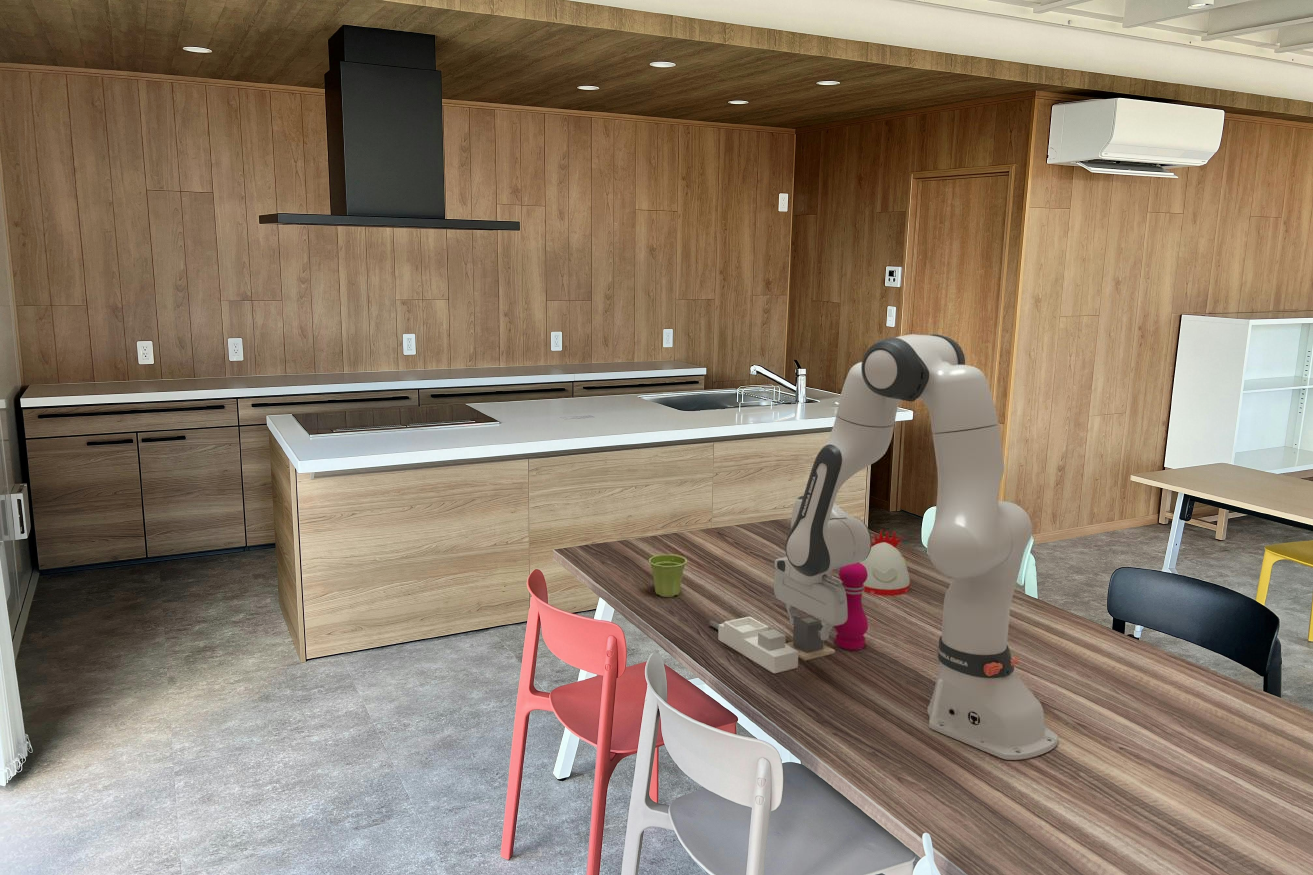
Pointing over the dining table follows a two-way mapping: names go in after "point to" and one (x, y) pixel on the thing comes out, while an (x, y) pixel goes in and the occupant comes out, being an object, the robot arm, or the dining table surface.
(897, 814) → the dining table surface
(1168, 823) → the dining table surface
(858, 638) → the pepper mill
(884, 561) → the kitchen timer
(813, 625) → the block
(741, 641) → the power strip
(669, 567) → the plant pot
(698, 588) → the dining table surface
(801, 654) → the coaster
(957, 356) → the robot arm
